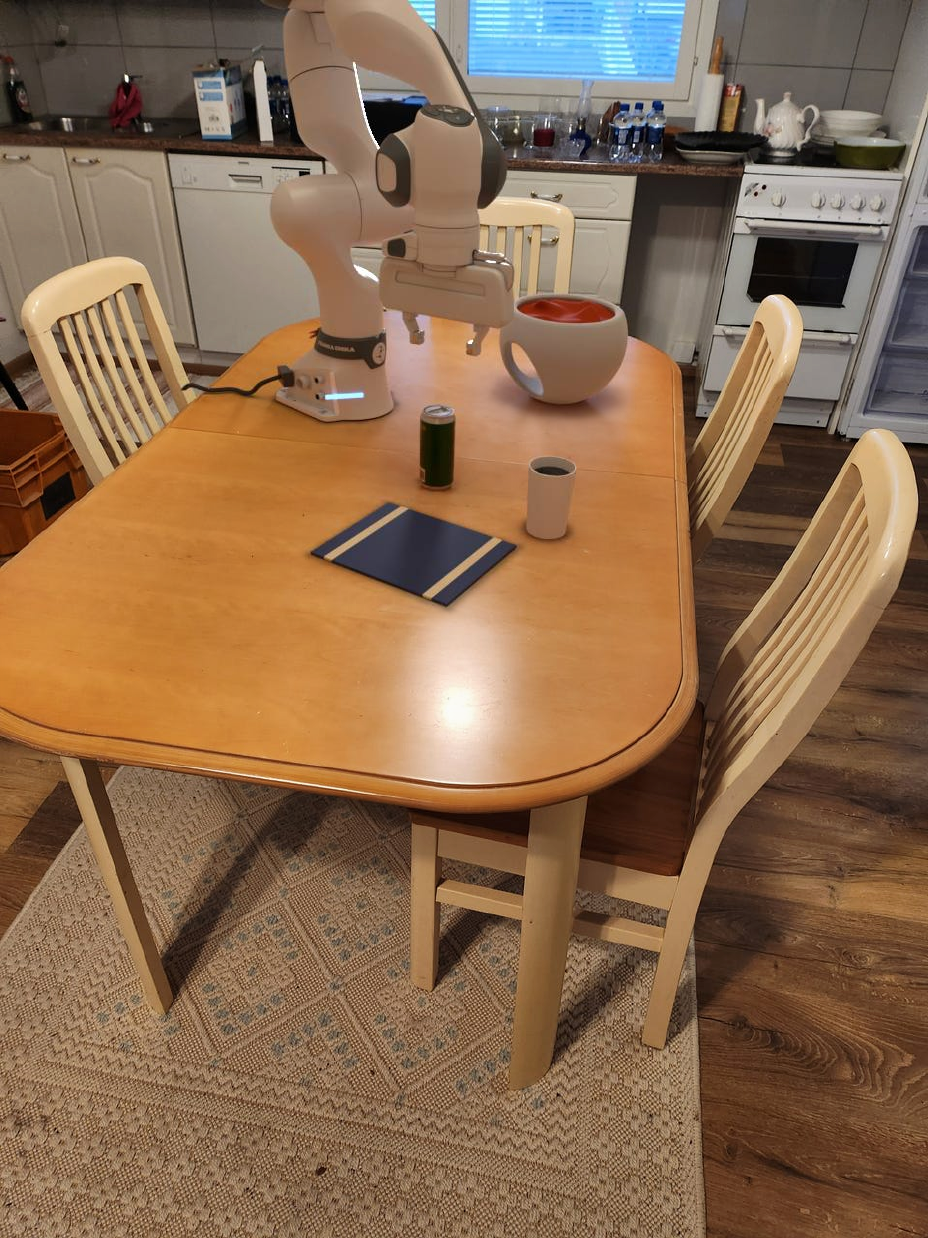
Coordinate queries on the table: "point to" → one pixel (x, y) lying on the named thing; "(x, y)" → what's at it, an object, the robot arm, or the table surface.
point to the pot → (565, 345)
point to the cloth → (415, 552)
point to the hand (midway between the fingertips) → (444, 348)
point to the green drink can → (437, 447)
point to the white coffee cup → (549, 496)
